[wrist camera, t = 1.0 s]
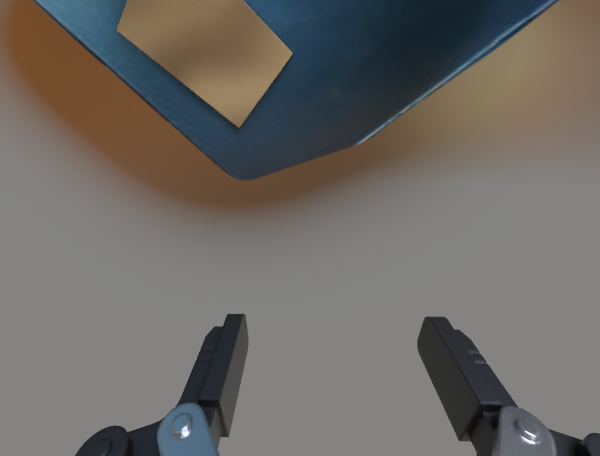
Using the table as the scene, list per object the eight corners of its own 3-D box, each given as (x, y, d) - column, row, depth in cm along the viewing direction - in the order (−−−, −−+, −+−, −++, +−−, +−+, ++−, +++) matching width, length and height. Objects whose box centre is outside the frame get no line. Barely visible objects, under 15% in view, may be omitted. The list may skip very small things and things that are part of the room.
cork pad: (118, 30, 25) (115, 30, 24) (161, -88, 20) (159, -90, 20) (239, 127, 31) (239, 128, 30) (292, 53, 26) (293, 53, 26)
